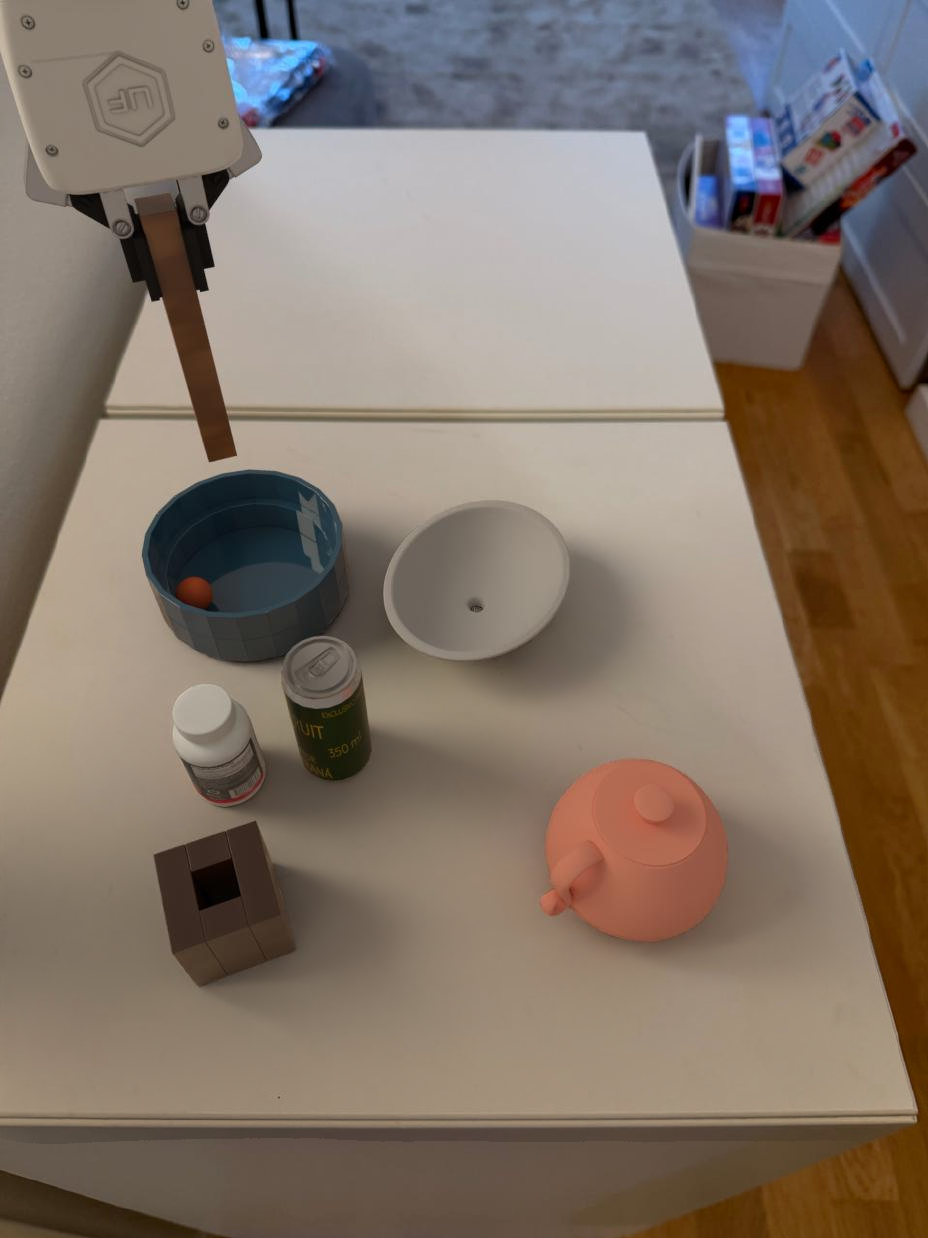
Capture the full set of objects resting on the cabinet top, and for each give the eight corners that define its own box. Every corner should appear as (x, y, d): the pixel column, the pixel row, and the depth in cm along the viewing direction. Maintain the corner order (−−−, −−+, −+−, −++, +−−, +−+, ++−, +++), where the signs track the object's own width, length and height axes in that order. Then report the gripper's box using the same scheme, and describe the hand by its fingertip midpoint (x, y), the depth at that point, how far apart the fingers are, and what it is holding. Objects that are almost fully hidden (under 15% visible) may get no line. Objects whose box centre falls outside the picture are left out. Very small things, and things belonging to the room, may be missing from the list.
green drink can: (335, 711, 73) (318, 620, 63) (386, 749, 71) (377, 661, 61) (287, 758, 70) (261, 670, 61) (338, 799, 68) (320, 715, 59)
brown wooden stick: (208, 462, 64) (139, 216, 50) (203, 444, 65) (133, 198, 51) (237, 455, 64) (176, 210, 50) (231, 437, 66) (170, 191, 51)
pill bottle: (194, 749, 70) (162, 679, 63) (265, 739, 71) (242, 668, 63) (194, 814, 67) (160, 748, 59) (268, 803, 68) (244, 737, 60)
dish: (501, 725, 72) (505, 691, 68) (348, 650, 76) (343, 613, 72) (596, 575, 81) (604, 537, 77) (455, 515, 86) (455, 476, 82)
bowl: (181, 689, 74) (161, 642, 69) (148, 547, 83) (127, 496, 78) (372, 633, 77) (367, 584, 72) (320, 502, 86) (312, 450, 81)
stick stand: (197, 987, 60) (171, 953, 54) (178, 894, 64) (152, 854, 58) (296, 950, 62) (281, 914, 56) (272, 862, 65) (255, 819, 60)
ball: (205, 617, 79) (176, 620, 76) (191, 587, 79) (163, 589, 77) (225, 600, 77) (196, 602, 75) (211, 569, 78) (182, 570, 75)
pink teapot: (752, 892, 64) (796, 831, 56) (592, 1003, 60) (614, 955, 52) (642, 759, 70) (667, 686, 62) (489, 850, 66) (494, 785, 58)
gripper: (-126, -49, 36) (42, 349, 50) (278, -92, 39) (324, 292, 54) (-126, -109, 40) (29, 275, 54) (238, -143, 43) (292, 226, 58)
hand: (175, 281), depth 54 cm, fingers closed on brown wooden stick, 2 cm apart
